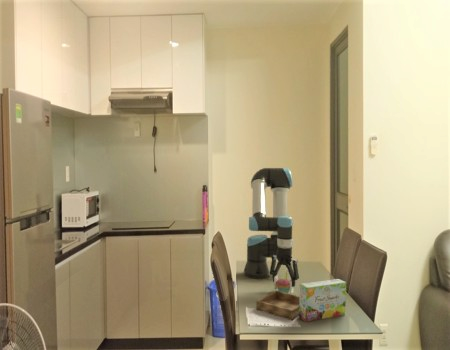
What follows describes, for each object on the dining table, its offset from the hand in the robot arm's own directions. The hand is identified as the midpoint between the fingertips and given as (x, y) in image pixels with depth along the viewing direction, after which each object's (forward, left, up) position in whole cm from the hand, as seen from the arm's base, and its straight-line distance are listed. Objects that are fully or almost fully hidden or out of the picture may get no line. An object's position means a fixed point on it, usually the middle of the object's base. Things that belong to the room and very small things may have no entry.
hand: (283, 290), depth 193 cm
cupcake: (0, 0, -2) cm, 2 cm away
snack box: (+27, -15, -2) cm, 31 cm away
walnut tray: (+10, -18, -1) cm, 21 cm away
